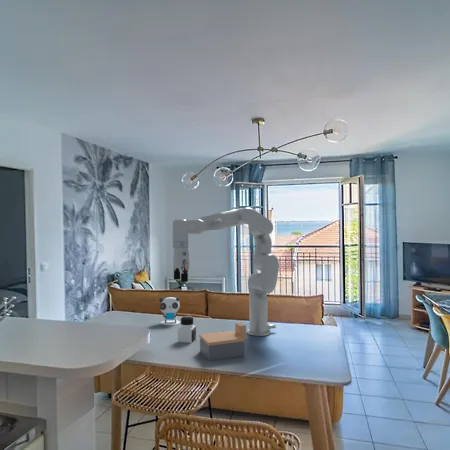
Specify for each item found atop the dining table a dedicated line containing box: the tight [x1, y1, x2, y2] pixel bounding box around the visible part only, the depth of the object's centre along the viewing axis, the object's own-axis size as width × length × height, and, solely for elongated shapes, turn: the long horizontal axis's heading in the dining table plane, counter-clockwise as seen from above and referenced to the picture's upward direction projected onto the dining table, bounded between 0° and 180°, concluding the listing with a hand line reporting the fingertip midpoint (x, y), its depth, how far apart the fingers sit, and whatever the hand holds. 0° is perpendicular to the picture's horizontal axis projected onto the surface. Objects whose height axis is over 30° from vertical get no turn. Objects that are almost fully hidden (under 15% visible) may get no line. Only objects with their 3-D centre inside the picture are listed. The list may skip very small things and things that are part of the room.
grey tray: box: [199, 337, 245, 362], centre depth 152 cm, size 16×12×7 cm
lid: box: [198, 321, 248, 346], centre depth 153 cm, size 19×13×7 cm, turn 111°
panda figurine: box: [158, 296, 181, 326], centre depth 206 cm, size 12×11×15 cm
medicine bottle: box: [177, 315, 197, 344], centre depth 171 cm, size 7×7×12 cm
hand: (180, 280), depth 168 cm, fingers open, 9 cm apart
